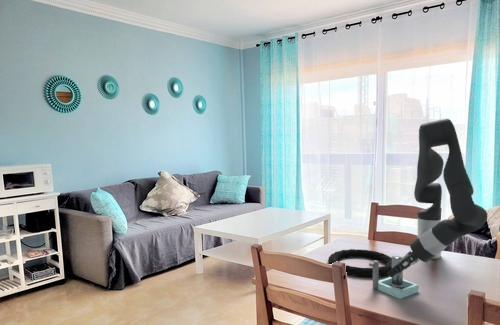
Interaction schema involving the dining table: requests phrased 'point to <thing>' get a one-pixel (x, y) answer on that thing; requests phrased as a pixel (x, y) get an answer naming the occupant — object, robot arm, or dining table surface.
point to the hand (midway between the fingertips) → (391, 273)
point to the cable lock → (366, 254)
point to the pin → (398, 278)
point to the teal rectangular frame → (385, 284)
